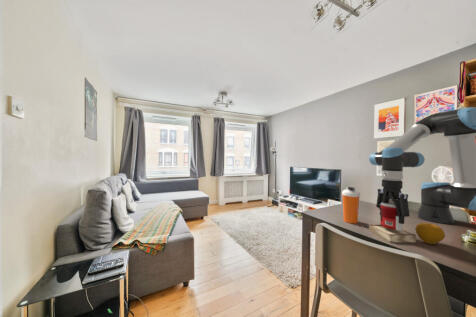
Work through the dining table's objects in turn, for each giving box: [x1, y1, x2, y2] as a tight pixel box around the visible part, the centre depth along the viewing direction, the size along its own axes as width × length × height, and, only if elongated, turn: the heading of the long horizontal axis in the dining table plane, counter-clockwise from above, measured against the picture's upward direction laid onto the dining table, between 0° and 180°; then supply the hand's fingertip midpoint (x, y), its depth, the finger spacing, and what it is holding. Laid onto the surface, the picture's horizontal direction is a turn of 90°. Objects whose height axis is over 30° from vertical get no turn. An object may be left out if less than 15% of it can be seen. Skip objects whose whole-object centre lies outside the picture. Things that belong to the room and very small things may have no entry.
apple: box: [415, 222, 446, 245], centre depth 77 cm, size 9×9×9 cm
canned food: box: [379, 202, 398, 230], centre depth 84 cm, size 8×8×11 cm
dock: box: [368, 224, 417, 243], centre depth 84 cm, size 12×12×3 cm
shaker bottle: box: [341, 186, 361, 225], centre depth 103 cm, size 9×9×20 cm
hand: (391, 226), depth 84 cm, fingers closed on canned food, 8 cm apart
